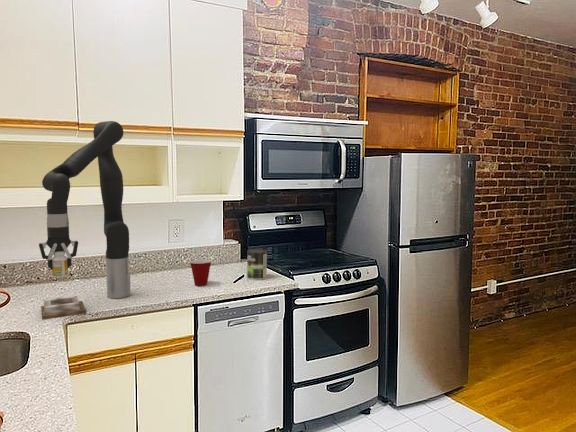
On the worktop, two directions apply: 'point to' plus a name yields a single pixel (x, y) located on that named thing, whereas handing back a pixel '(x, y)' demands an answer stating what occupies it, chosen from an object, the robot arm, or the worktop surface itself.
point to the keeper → (62, 307)
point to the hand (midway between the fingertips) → (59, 268)
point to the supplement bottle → (59, 264)
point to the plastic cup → (200, 271)
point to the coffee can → (256, 264)
